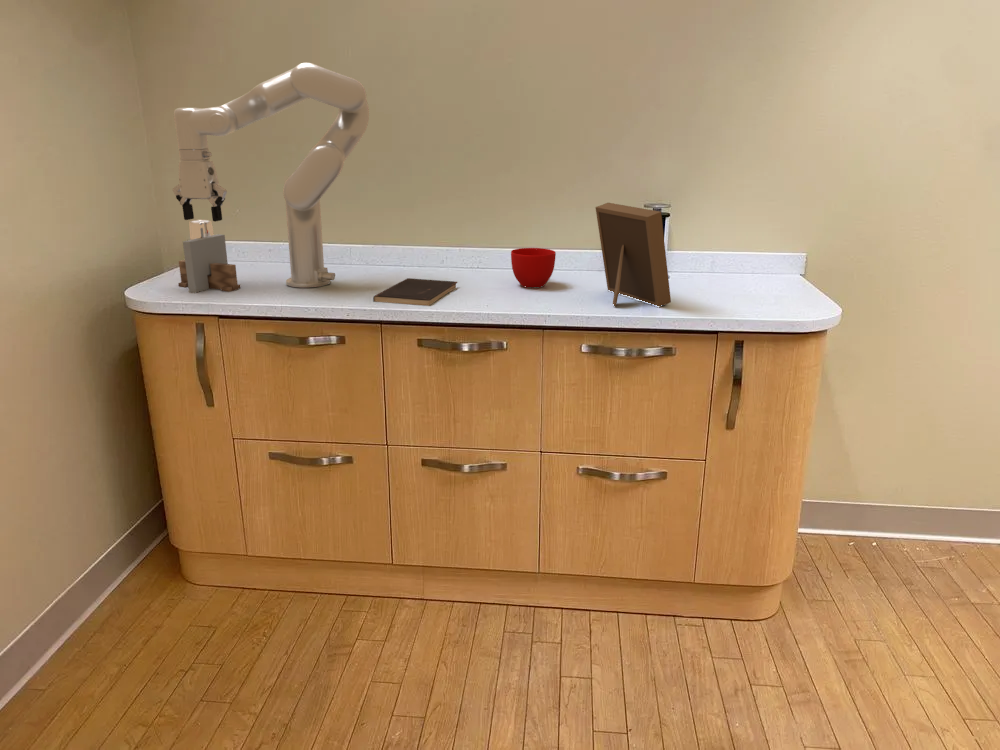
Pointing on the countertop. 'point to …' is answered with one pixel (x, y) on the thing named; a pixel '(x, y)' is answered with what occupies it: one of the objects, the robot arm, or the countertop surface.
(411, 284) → the hardcover book
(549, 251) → the ceramic cup
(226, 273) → the walnut slotted plate
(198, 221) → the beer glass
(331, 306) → the countertop surface
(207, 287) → the gray square panel
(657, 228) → the photo frame
